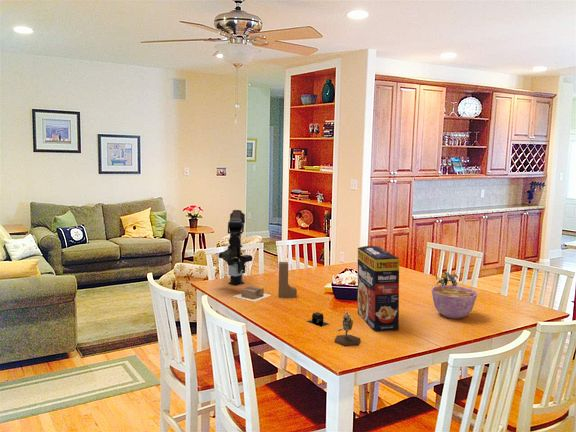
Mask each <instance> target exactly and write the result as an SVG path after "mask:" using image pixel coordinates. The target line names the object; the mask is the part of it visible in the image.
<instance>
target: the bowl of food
mask: <svg viewBox="0 0 576 432" xmlns="http://www.w3.org/2000/svg"><path fill="white" fill-rule="evenodd" d="M431 294H432V295H431V296H432V301H433V305H434V308H435V310H437V311H436V312H438V313H440V314H441V315H443V316H444V317H446V318H449V319H461V318H463V317H467V316H468V315H470V314H471V312H472V311H473V309H474V305H475V302H476V300H477V296H478V292H477V291H475V290H473V289H472V288H468V287H463V286H459V285H458V286H453V285H442V286H441V285H438V286H434V287H431Z"/></svg>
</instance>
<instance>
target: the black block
mask: <svg viewBox="0 0 576 432" xmlns="http://www.w3.org/2000/svg"><path fill="white" fill-rule="evenodd" d="M324 317H325V316H324V313H321V312H318V311H316V312H313V313H312V315H311V319H308V320H305V322H307V323H309V324H312V325H315V326H317V327H326V326H328V325H330V323H329V322H325V321H324Z"/></svg>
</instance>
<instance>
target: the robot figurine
mask: <svg viewBox="0 0 576 432" xmlns="http://www.w3.org/2000/svg"><path fill="white" fill-rule="evenodd" d="M350 316H351V313H350V312H345V314H344V315H343V320H342V328H338V329H337V331H338V332H340V331H342V330H343V331H345V333H344V334H340V335H336V337H335V338H334V340H333V341H334V344H338V345H340V346H343V347H356V346H357V347H358V346H359V345H360V342H361V337H358V336H354V335H352V334H348V332H349V331H352V329H353V324H354V320H353V319H352V318H351V317H350Z"/></svg>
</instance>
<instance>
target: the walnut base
mask: <svg viewBox="0 0 576 432" xmlns="http://www.w3.org/2000/svg"><path fill="white" fill-rule="evenodd" d="M264 289H265V288H263V287H258V286H253V285H250V286H246V287H244V288H241V291H240V294H241V297H244V298H248V299H253V300H254V299H257V298H260V297H263V296H264V294H265V293H264Z"/></svg>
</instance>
